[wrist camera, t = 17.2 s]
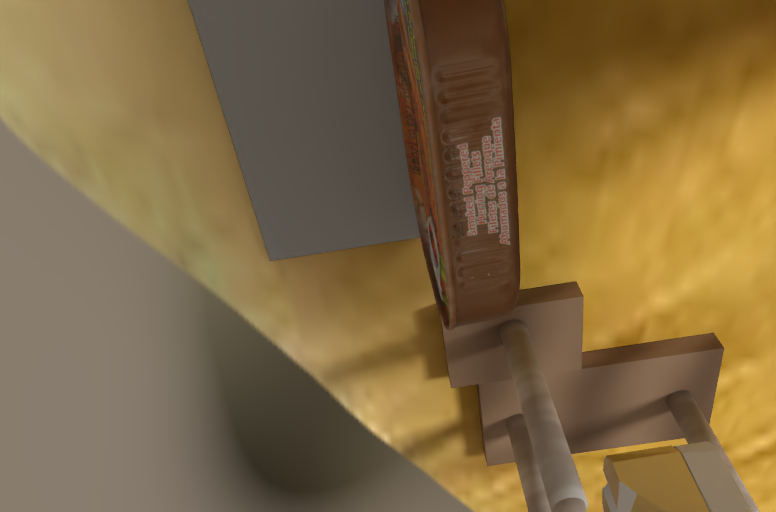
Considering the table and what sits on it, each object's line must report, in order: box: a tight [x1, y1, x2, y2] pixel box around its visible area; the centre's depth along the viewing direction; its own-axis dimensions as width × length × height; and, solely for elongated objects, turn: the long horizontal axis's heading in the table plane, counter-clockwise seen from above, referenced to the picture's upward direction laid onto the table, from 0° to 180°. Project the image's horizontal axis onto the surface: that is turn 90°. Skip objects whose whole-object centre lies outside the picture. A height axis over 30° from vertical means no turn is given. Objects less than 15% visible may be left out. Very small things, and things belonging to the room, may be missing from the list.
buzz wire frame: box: [440, 282, 760, 512], centre depth 32 cm, size 14×12×12 cm
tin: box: [384, 0, 520, 331], centre depth 23 cm, size 15×3×8 cm, turn 8°
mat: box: [188, 0, 420, 261], centre depth 27 cm, size 10×14×1 cm
